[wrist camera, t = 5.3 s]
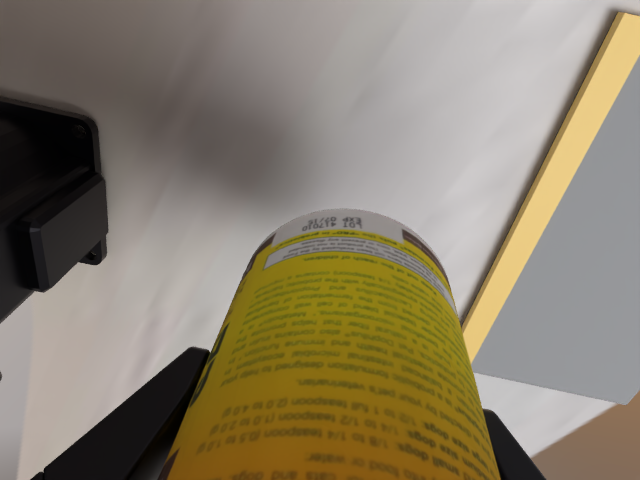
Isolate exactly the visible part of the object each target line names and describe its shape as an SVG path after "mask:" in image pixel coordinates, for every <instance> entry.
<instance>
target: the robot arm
mask: <svg viewBox="0 0 640 480" xmlns="http://www.w3.org/2000/svg"><path fill="white" fill-rule="evenodd" d="M78 125H80V126H82V127H83V128H84V130H85V133H86V134H85V135H84V134H82V133H81V132H80V131H79V129H78ZM107 233H108V216H107V201H106V186H105V179H104V177H103V176H102V174H101V164H100V150H99V136H98V129H97V126H96V124H95V123H94V121H93V120H91V119H90V118H89V117H87V116H84V115H81V114H76V113H72V112H67V111H63V110H58V109H54V108H49V107H45V106H40V105H36V104H31V103H27V102H22V101H18V100H14V99H9V98H5V97H0V323H1V322H2V321H4V320H5V318H7V317H8V316H9V315H10V314H11V313H12V312H13V311H14V310H15V309H16V308H17V307H18V306H20V305H21V304H22V303H23V302H24V301H25V300H26V299H27V298H28V297H29V296H30V295H31V294H32V293H33V292H34V291H38V292H43V293H44V292H46V291H47V290H49V289H50V288H52V287H53V286H54V285H55V284H56V283H57V282H58V281H59V280H60V279H61V278H62V277H63V276H64V275H65V274H66V273H67V272H68V271H69V270H70V269H71V268H72V267H73V266H74V265H76V264H77V263H78V262H80V263H85V264H90V265H98V264H100V263H101V262H102V261H103V259H104V258H105V257H106V255H107V247H106V234H107ZM91 251H92V252H94V253H95V254H96V255H94V254H92V253H91ZM209 355H210V351H209V350H207V349H203V348H198V347H190V348H188V349H187V350H186V351H184V352H183V353H182V354H181V355H180V356H178V357H177V358H176V359H175V360H174V361H172V362H171V363H170V364H169V365H168V366H166V367H165V368H164V369H163V370H162V371H160V372H159V373H158V374H157V375H156V376H154V377H153V378H152V379H151V380H150V381H148V382H147V383H146V384H145V385H144V386H142V387H141V388H140V389H139V390H138V391H136V392H135V393H134V394H133V395H132V396H130V397H129V398H128V399H127V400H126V401H124V402H123V403H122V404H121V405H120V406H118V407H117V408H116V409H115V410H114V411H112V412H111V413H110V414H109V415H108V416H106V417H105V418H104V419H103V420H102V421H100V422H99V423H98V424H97V425H96V426H94V427H93V428H92V429H91V430H90V431H88V432H87V433H86V434H85V435H84V436H82V437H81V438H80V439H79V440H78V441H76V442H75V443H74V444H73V445H72V446H70V447H69V448H68V449H67V450H66V451H64V452H63V453H62V454H61V455H60V456H58V457H57V458H56V459H55V460H54V461H52V462H51V463H50V464H49V465H48V466H46V467H45V468H44V473H43V472H39V473H38V474H36V475H35V476H34V477H33V478H32V479H30V480H157V479H158V477H159V475H160V473H161V470H162V468H163V466H164V464H165V461H166V459H167V457H168V454H169V452H170V450H171V447H172V445H173V443H174V440H175V438H176V435H177V433H178V431H179V428H180V426H181V423H182V421H183V418H184V416H185V413H186V411H187V409H188V406H189V404H190V401H191V399H192V397H193V394H194V392H195V389H196V387H197V384H198V382H199V380H200V377H201V375H202V373H203V370H204V368H205V366H206V363H207V360H208V358H209ZM1 378H2V374H1V372H0V380H1ZM482 410H483V414H484V418H485V422H486V426H487V429H488V433H489V437H490V441H491V445H492V449H493V452H494V456H495V460H496V463H497V467H498V471H499V475H500V478H501V480H546V478H545V477H544V476H543V475H542V473H541V472H540V471H539V469H538V468H537V467H536V465H535V464H534V463H533V462H532V460H531V459H530V458H529V456H528V455H527V454H526V452H525V451H524V450H523V448H522V447H521V446H520V445H519V443H518V442H517V441H516V439H515V438H514V437H513V435H512V434H511V433H510V432H509V430H508V429H507V428H506V426H505V425H504V424H503V422H502V421H501V420H500V419H499V417H498V416H497V415H496V414H495V413H494V412H493V411H491V410H488V409H483V408H482Z"/></svg>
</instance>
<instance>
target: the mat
mask: <svg viewBox="0 0 640 480" xmlns="http://www.w3.org/2000/svg"><path fill="white" fill-rule="evenodd" d="M461 330H462V333H463V337H464V341H465V345H466V348H467V352H468V356H469V359H470V363H471V367H472V371H473V372H474V373H479V374H483V375H488V376H493V377H497V378H502V379H507V380H511V381H516V382H521V383H525V384H530V385H535V386H539V387H544V388H549V389H553V390H558V391H563V392H567V393H572V394H577V395H581V396H586V397H591V398H595V399H600V400H605V401H609V402H614V403H619V404H623V405H627V404H628V403H629V401H630V400H631V399H632V398H633V397H634V396H635V395H636V393H637V392H638V391H639V390H640V16H636V15H632V14H628V13H622V12H618V13H617V15H616V17H615V19H614V21H613V23H612V25H611V27H610V29H609V31H608V33H607V35H606V37H605V39H604V41H603V43H602V45H601V47H600V49H599V51H598V53H597V55H596V57H595V59H594V61H593V64H592V66H591V68H590V70H589V72H588V74H587V76H586V78H585V80H584V82H583V84H582V86H581V88H580V90H579V92H578V94H577V96H576V98H575V100H574V102H573V104H572V106H571V108H570V110H569V112H568V114H567V116H566V118H565V120H564V122H563V124H562V126H561V128H560V130H559V132H558V134H557V136H556V138H555V140H554V142H553V144H552V146H551V148H550V150H549V152H548V154H547V156H546V158H545V160H544V162H543V164H542V166H541V168H540V170H539V172H538V174H537V176H536V178H535V180H534V182H533V184H532V186H531V188H530V190H529V192H528V194H527V196H526V198H525V200H524V202H523V204H522V206H521V208H520V210H519V212H518V214H517V216H516V218H515V220H514V222H513V224H512V226H511V228H510V231H509V233H508V235H507V237H506V239H505V241H504V243H503V245H502V247H501V249H500V251H499V253H498V255H497V257H496V259H495V261H494V263H493V265H492V267H491V269H490V271H489V273H488V275H487V277H486V279H485V281H484V283H483V285H482V287H481V289H480V291H479V293H478V295H477V297H476V299H475V301H474V303H473V305H472V307H471V309H470V311H469V313H468V315H467V317H466V319H465V321H464V323H463V325H462V327H461Z"/></svg>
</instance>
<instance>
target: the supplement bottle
mask: <svg viewBox="0 0 640 480" xmlns="http://www.w3.org/2000/svg"><path fill="white" fill-rule="evenodd" d="M157 480H501V478H500V475H499V471H498V467H497V463H496V460H495V456H494V452H493V449H492V445H491V441H490V437H489V433H488V429H487V426H486V422H485V418H484V414H483V410H482V406H481V402H480V398H479V394H478V390H477V386H476V382H475V378H474V374H473V371H472V367H471V363H470V359H469V356H468V352H467V348H466V345H465V341H464V337H463V333H462V330H461V326H460V322H459V318H458V315H457V311H456V307H455V303H454V299H453V296H452V292H451V288H450V285H449V282H448V278H447V276H446V273H445V270H444V268H443V266H442V264H441V262H440V260H439V259H438V257H437V255H436V254H435V253H434V251H433V250H432V249H431V248H430V246H429V245H428V244H427V243H426V242H425V241H424V240H423V239H422V238H421V237H420V236H419V235H417V234H416V233H415V232H414V231H412V230H411V229H409V228H408V227H406V226H405V225H403V224H401V223H400V222H398V221H395V220H393V219H391V218H389V217H386V216H383V215H380V214H377V213H373V212H369V211H363V210H356V209H331V210H323V211H318V212H314V213H310V214H306V215H303V216H301V217H298V218H296V219H294V220H292V221H290V222H288V223H286V224H284V225H283V226H281V227H280V228H278V229H277V230H275V231H274V232H273V233H272V234H270V235H269V236H268V237H267V238H266V239H265V240H264V241H263V242H262V243H261V245H260V246H259V247H258V249H257V250H256V251H255V253H254V254H253V256H252V258H251V260H250V262H249V264H248V266H247V268H246V270H245V272H244V274H243V277H242V280H241V282H240V284H239V286H238V289H237V291H236V293H235V296H234V298H233V300H232V303H231V305H230V308H229V310H228V313H227V315H226V317H225V320H224V322H223V325H222V327H221V329H220V332H219V334H218V336H217V339H216V341H215V344H214V346H213V348H212V351H211V353H210V355H209V358H208V360H207V363H206V366H205V368H204V370H203V373H202V375H201V377H200V380H199V382H198V384H197V387H196V389H195V392H194V394H193V397H192V399H191V401H190V404H189V406H188V409H187V411H186V413H185V416H184V418H183V421H182V423H181V426H180V428H179V431H178V433H177V435H176V438H175V440H174V443H173V445H172V447H171V450H170V452H169V454H168V457H167V459H166V461H165V464H164V466H163V468H162V470H161V473H160V475H159V477H158V479H157Z"/></svg>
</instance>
